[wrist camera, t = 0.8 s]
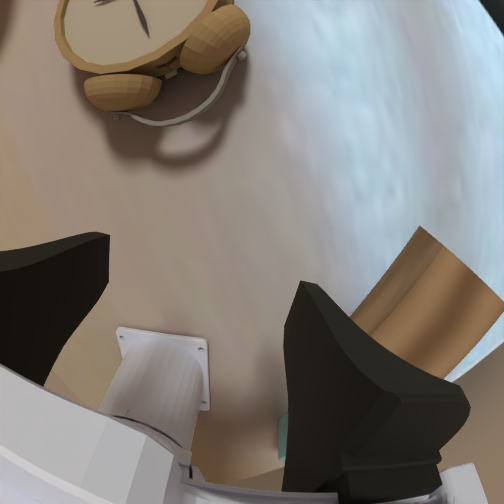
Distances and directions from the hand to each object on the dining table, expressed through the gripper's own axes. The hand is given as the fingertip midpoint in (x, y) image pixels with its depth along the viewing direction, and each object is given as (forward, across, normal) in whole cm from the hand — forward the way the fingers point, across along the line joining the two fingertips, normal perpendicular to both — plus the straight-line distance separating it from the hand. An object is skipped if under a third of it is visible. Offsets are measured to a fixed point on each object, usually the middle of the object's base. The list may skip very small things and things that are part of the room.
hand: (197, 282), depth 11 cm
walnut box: (+10, -17, +4) cm, 20 cm away
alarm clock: (+10, +7, -11) cm, 17 cm away
